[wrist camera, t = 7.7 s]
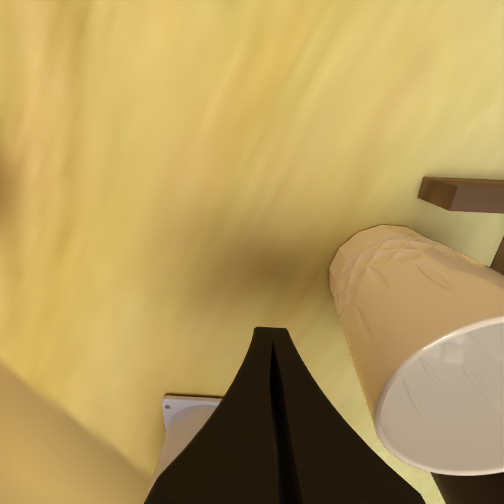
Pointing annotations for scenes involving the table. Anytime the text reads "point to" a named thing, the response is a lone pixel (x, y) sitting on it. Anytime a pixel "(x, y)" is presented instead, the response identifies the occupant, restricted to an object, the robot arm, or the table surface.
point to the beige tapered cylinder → (425, 347)
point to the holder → (467, 200)
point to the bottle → (471, 488)
